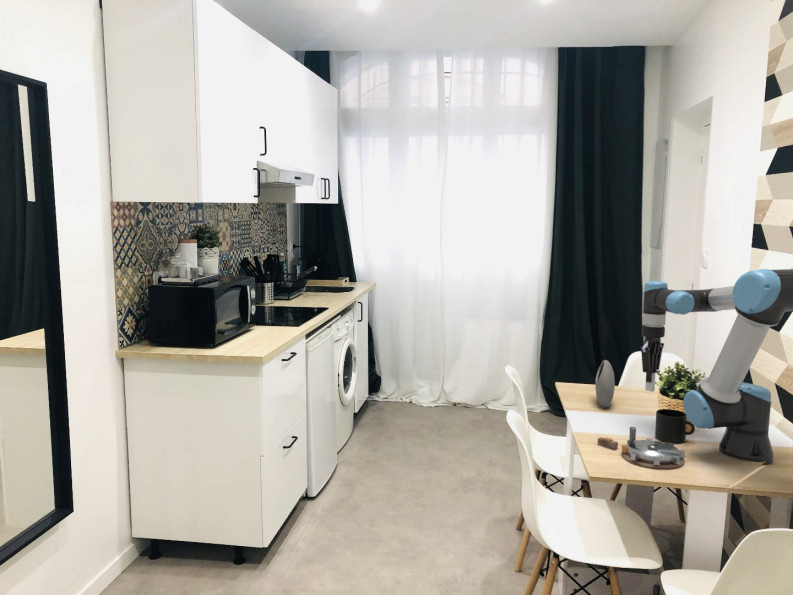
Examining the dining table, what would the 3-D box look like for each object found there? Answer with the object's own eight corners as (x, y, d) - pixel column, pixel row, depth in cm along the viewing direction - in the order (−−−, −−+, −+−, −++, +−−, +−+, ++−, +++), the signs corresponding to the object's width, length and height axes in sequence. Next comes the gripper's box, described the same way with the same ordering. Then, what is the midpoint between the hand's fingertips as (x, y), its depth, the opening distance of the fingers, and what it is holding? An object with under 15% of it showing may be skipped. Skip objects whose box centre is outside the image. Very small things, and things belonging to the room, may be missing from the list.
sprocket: (678, 447, 199) (679, 422, 198) (689, 468, 182) (690, 441, 181) (619, 442, 204) (620, 418, 203) (624, 462, 187) (625, 436, 186)
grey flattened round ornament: (593, 400, 257) (595, 355, 255) (611, 401, 255) (613, 356, 253) (595, 413, 239) (597, 365, 237) (615, 414, 237) (617, 366, 235)
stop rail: (617, 449, 201) (618, 440, 200) (614, 450, 200) (614, 442, 199) (600, 444, 205) (601, 435, 205) (597, 445, 204) (597, 437, 204)
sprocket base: (694, 459, 192) (694, 456, 192) (667, 474, 181) (667, 472, 181) (639, 444, 206) (639, 441, 206) (610, 457, 194) (610, 454, 194)
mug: (691, 447, 203) (693, 420, 202) (652, 440, 209) (653, 414, 208) (695, 439, 211) (697, 412, 210) (657, 432, 217) (658, 407, 216)
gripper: (652, 321, 227) (648, 385, 230) (634, 325, 219) (630, 391, 222) (672, 324, 221) (668, 389, 224) (654, 328, 213) (651, 396, 216)
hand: (649, 390), depth 223 cm, fingers closed
